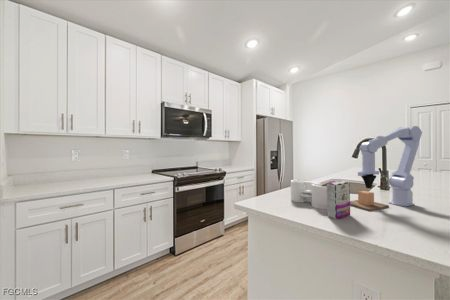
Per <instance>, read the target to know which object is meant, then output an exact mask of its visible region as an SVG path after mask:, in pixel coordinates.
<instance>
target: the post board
mask: <svg viewBox="0 0 450 300" xmlns="http://www.w3.org/2000/svg"><path fill="white" fill-rule="evenodd" d="M350 207H353V208H356V209H361V210H362V211H363V210H364V211H367V212H372V211H377V210H382V209H388V208H389V207H390V205H389V204H384V203H381V202H376V201H374V205H369V206H367V205H363V204H359V203H358V199H355V200H350Z"/></svg>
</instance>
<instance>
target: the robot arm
mask: <svg viewBox="0 0 450 300" xmlns="http://www.w3.org/2000/svg"><path fill="white" fill-rule="evenodd" d="M422 134H423V131H422V130H421V128H420V127H419V126H417V125H414V126H406V127H403V126H401V127H397V128H394V130H392V131H391V132H389V133H387V134H385V135H376V136H375V138H373V139H369V140H368V142H367V141H366V142H365V141H364V142H362V143H361V144H360V146H359V150H360V152H361V155H362V156H361V157H362V158H361V159H362V161H361V162H362V164H361V166H362V170H361V171H358V172H357V176H359V177H360V178H362V180H363V182H364V185H365V188H366V189H372V188H373V185H374V184H373V183H374V182H375V180H376V178H377V175H380V170H376V152H378V150H379V149H380V148H382V147H384V146H386V145H388V142H389V141H392V140H394V139H397V138H398V139H399V140H400V142H402V143H403V144H405V147H404V149H403V152H402V154H401V158H400V161H399V164H398V167H397V169H396V171H394V172H392V174H391V176H389V178H388V184H389V185H390V187H391V189H392V191H391V192H392V194H391V195H392V197H391V199H392V201H388V203H389V204H392V205H396V206H400V207H408V206H415V203H414V201H413V200H414V198H413V195H414V194H413V191H412V190H411V189H412V188H413V186H414V179H415V177H414V176H413V175H412V173H411V171H412V169H413V164H414V161H415V160H416V159H415V158H416V155H417V151H418V149H419V146H420V140H421V138H422Z"/></svg>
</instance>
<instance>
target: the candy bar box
mask: <svg viewBox="0 0 450 300" xmlns="http://www.w3.org/2000/svg"><path fill="white" fill-rule="evenodd" d="M326 186H327V209H326V216H327V217H328V218H330V219H334V220H339V219H343V218H346V217H349V216H351V206H350V201H351V182H350V181H346V180H337V181H331V182H326Z"/></svg>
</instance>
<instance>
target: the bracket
mask: <svg viewBox="0 0 450 300" xmlns="http://www.w3.org/2000/svg"><path fill="white" fill-rule="evenodd" d="M290 201H292V202H296V203H305V202H306V203H307V202H308V203H311V207H313V208H316V209H320V210H327V185H326V186H322V183H321V182H313V181H308V180H305V181H299V179H291V180H290Z"/></svg>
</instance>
